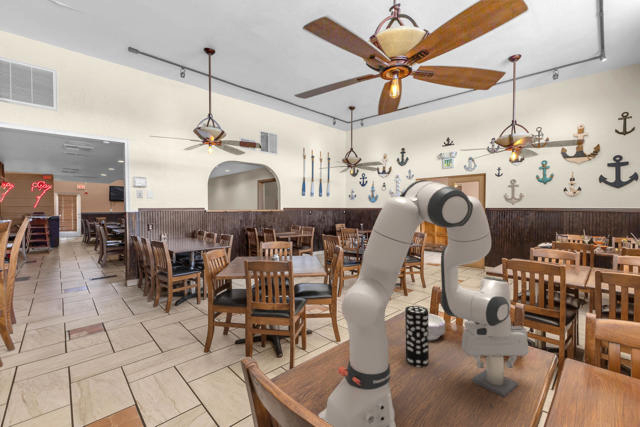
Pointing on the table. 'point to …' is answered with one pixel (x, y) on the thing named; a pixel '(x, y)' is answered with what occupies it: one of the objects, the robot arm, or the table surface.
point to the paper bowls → (435, 326)
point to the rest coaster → (498, 389)
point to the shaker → (495, 369)
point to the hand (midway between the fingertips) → (494, 367)
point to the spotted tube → (417, 336)
